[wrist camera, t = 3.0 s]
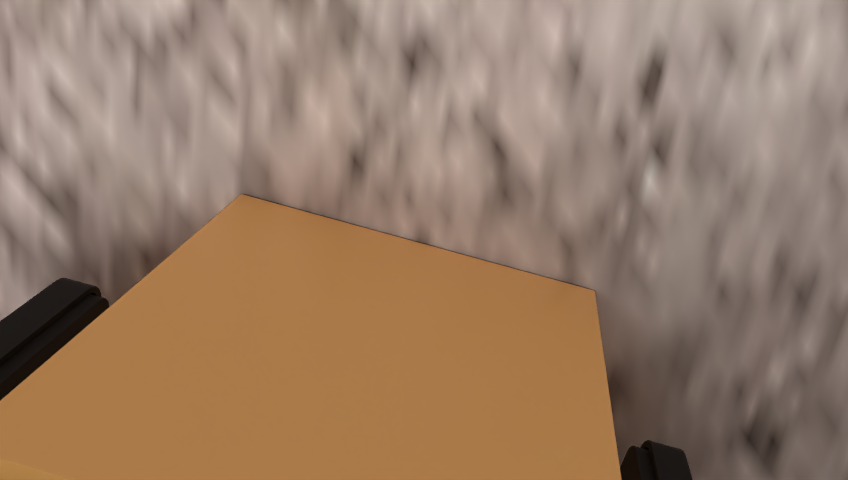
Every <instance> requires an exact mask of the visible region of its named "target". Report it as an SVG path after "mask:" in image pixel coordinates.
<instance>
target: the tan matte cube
mask: <svg viewBox="0 0 848 480" xmlns="http://www.w3.org/2000/svg"><path fill="white" fill-rule="evenodd" d="M0 480H622V479H621V472H620V465H619V458H618V451H617V444H616V437H615V430H614V423H613V416H612V409H611V402H610V395H609V388H608V381H607V374H606V367H605V360H604V353H603V346H602V339H601V332H600V325H599V318H598V311H597V304H596V296H595V291H594V290H590V289H586V288H583V287H579V286H575V285H572V284H568V283H564V282H561V281H557V280H553V279H550V278H546V277H542V276H539V275H535V274H531V273H528V272H524V271H521V270H517V269H513V268H510V267H506V266H502V265H499V264H495V263H491V262H488V261H484V260H480V259H477V258H473V257H469V256H466V255H462V254H458V253H455V252H451V251H447V250H444V249H440V248H436V247H433V246H429V245H426V244H422V243H418V242H415V241H411V240H407V239H404V238H400V237H396V236H393V235H389V234H385V233H382V232H378V231H374V230H371V229H367V228H363V227H360V226H356V225H352V224H349V223H345V222H341V221H338V220H334V219H331V218H327V217H323V216H320V215H316V214H312V213H309V212H305V211H301V210H298V209H294V208H290V207H287V206H283V205H279V204H276V203H272V202H268V201H265V200H261V199H257V198H254V197H250V196H246V195H243V194H241V195H240V196H238V197H237V198H236V199H235V200H234V201H233V202H231V203H230V204H229V205H228V206H227V207H226V208H224V209H223V210H222V211H221V212H220V213H219V214H217V215H216V216H215V217H214V218H213V219H212V220H210V221H209V222H208V223H207V224H206V225H205V226H203V227H202V228H201V229H200V230H199V231H198V232H196V233H195V234H194V235H193V236H192V237H191V238H189V239H188V240H187V241H186V242H185V243H184V244H182V245H181V246H180V247H179V248H178V249H177V250H175V251H174V252H173V253H172V254H171V255H170V256H168V257H167V258H166V259H165V260H164V261H163V262H161V263H160V264H159V265H158V266H157V267H156V268H154V269H153V270H152V271H151V272H150V273H149V274H147V275H146V276H145V277H144V278H143V279H142V280H140V281H139V282H138V283H137V284H136V285H135V286H133V287H132V288H131V289H130V290H129V291H128V292H126V293H125V294H124V295H123V296H122V297H121V298H120V299H118V300H117V301H116V302H115V303H114V304H113V305H111V306H110V307H109V308H108V309H107V310H106V311H104V312H103V313H102V314H101V315H100V316H99V317H97V318H96V319H95V320H94V321H93V322H92V323H90V324H89V325H88V326H87V327H86V328H85V329H83V330H82V331H81V332H80V333H79V334H78V335H76V336H75V337H74V338H73V339H72V340H71V341H69V342H68V343H67V344H66V345H65V346H64V347H62V348H61V349H60V350H59V351H58V352H57V353H55V354H54V355H53V356H52V357H51V358H50V359H48V360H47V361H46V362H45V363H44V364H43V365H41V366H40V367H39V368H38V369H37V370H36V371H34V372H33V373H32V374H31V375H30V376H29V377H27V378H26V379H25V380H24V381H23V382H22V383H20V384H19V385H18V386H17V387H16V388H15V389H13V390H12V391H11V392H10V393H9V394H8V395H6V396H5V397H4V398H3V399H2V400H1V401H0Z"/></svg>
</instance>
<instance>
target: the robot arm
mask: <svg viewBox="0 0 848 480" xmlns="http://www.w3.org/2000/svg"><path fill="white" fill-rule="evenodd" d="M108 308H109V303H108V300H107V299H105V298H102V297H101V292H100V290H99V288H97V287H96V286H92V285H88V284H85V283H81V282H78V281H74V280H70V279H67V278H61V279H59V280H57V281H55V282H54V283H52V284H51V285H50V286H48V287H47V288H46V289H44V290H43V291H41V292H40V293H39V294H37V295H36V296H34V297H33V298H32V299H30V300H29V301H28V302H26V303H25V304H23V305H22V306H21V307H19V308H18V309H17V310H15V311H14V312H12V313H11V314H10V315H8V316H7V317H5V318H4V319H3V320H1V321H0V401H1V400H2V399H3V398H4V397H5V396H6V395H8V394H9V393H10V392H11V391H12V390H13V389H15V388H16V387H17V386H18V385H19V384H20V383H22V382H23V381H24V380H25V379H26V378H27V377H29V376H30V375H31V374H32V373H33V372H34V371H36V370H37V369H38V368H39V367H40V366H41V365H43V364H44V363H45V362H46V361H47V360H48V359H50V358H51V357H52V356H53V355H54V354H55V353H57V352H58V351H59V350H60V349H61V348H62V347H64V346H65V345H66V344H67V343H68V342H69V341H71V340H72V339H73V338H74V337H75V336H76V335H78V334H79V333H80V332H81V331H82V330H83V329H85V328H86V327H87V326H88V325H89V324H90V323H92V322H93V321H94V320H95V319H96V318H97V317H99V316H100V315H101V314H102V313H103V312H104V311H106V310H107V309H108ZM620 472H621V479H622V480H692V477H691V473H690V470H689V466H688V462H687V459H686V456H685V453H684V451H682V450H681V449H677V448H674V447H670V446H667V445H663V444H659V443H656V442H652V441H649V440H647V441H645V442H644V443H643V444H642V446H641V447H640V448H639V447H636V446H631V447H630V448H629V450H628V451H627V453H626V456H625V458H624V460H623V463H622V465H621V467H620Z"/></svg>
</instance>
